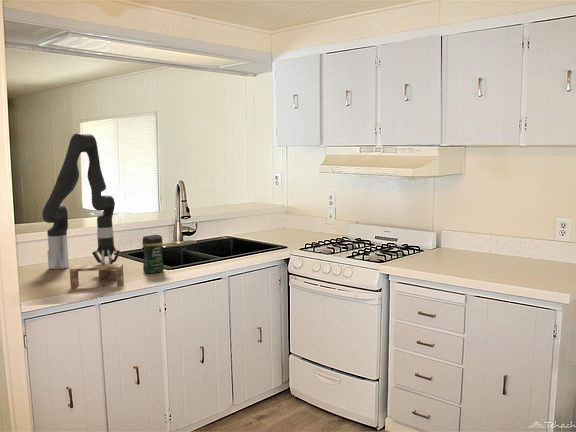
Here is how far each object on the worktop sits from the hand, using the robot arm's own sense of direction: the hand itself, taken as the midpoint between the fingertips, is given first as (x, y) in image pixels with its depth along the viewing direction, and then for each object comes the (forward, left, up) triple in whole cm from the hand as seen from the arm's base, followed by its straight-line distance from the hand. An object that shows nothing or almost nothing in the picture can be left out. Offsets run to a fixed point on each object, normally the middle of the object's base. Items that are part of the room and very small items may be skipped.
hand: (107, 270), depth 271 cm
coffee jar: (+22, -1, -2) cm, 22 cm away
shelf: (-1, -22, -2) cm, 22 cm away
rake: (+2, -5, -2) cm, 5 cm away
